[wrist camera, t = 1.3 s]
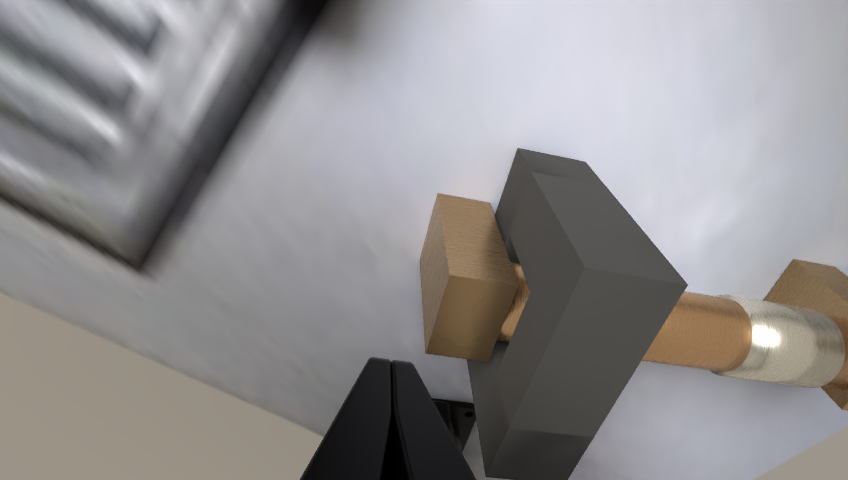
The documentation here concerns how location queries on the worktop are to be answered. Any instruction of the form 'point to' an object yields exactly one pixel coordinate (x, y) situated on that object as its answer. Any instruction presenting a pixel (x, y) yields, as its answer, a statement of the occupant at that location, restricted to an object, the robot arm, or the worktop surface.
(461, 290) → the square head rod
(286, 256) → the worktop surface
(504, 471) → the dark grey square ring
